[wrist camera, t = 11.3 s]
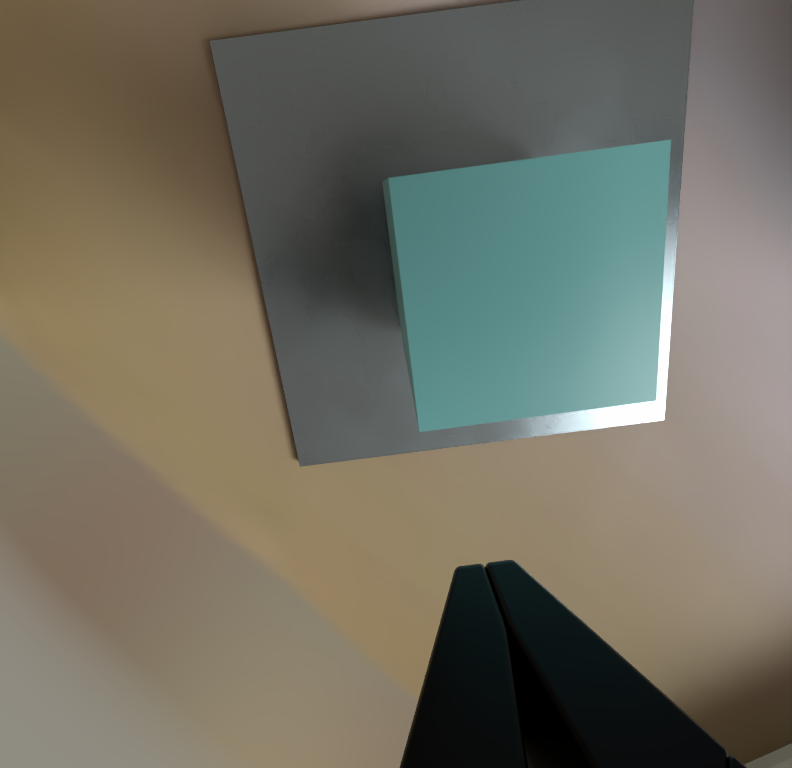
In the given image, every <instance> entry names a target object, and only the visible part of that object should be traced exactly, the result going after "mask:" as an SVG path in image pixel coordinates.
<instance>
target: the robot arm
mask: <svg viewBox="0 0 792 768" xmlns="http://www.w3.org/2000/svg"><path fill="white" fill-rule="evenodd" d="M400 768H747V767H746V766H745V765H744V764H743V763H742V762H740V761H739V760H738V759H737V758H736V757H735V756H729V757H728V753H727V750H726V749H725V748H724V747H723V746H722V745H721V744H720V743H719V742H718V741H716V740H715V739H714V738H713V737H712V736H711V735H710V734H709V733H707V732H706V731H705V730H704V729H703V728H702V727H701V726H700V725H699V724H697V723H696V722H695V721H694V720H693V719H692V718H691V717H690V716H688V715H687V714H686V713H685V712H684V711H683V710H682V709H681V708H679V707H678V706H677V705H676V704H675V703H674V702H673V701H672V700H670V699H669V698H668V697H667V696H666V695H665V694H664V693H663V692H661V691H660V690H659V689H658V688H657V687H656V686H655V685H654V684H652V683H651V682H650V681H649V680H648V679H647V678H646V677H645V676H643V675H642V674H641V673H640V672H639V671H638V670H637V669H636V668H634V667H633V666H632V665H631V664H630V663H629V662H628V661H627V660H625V659H624V658H623V657H622V656H621V655H620V654H619V653H618V652H616V651H615V650H614V649H613V648H612V647H611V646H610V645H609V644H607V643H606V642H605V641H604V640H603V639H602V638H601V637H600V636H598V635H597V634H596V633H595V632H594V631H593V630H592V629H591V628H589V627H588V626H587V625H586V624H585V623H584V622H583V621H582V620H580V619H579V618H578V617H577V616H576V615H575V614H574V613H573V612H572V611H570V610H569V609H568V608H567V607H566V606H565V605H564V604H563V603H561V602H560V601H559V600H558V599H557V598H556V597H555V596H554V595H552V594H551V593H550V592H549V591H548V590H547V589H546V588H545V587H543V586H542V585H541V584H540V583H539V582H538V581H537V580H536V579H534V578H533V577H532V576H531V575H530V574H529V573H528V572H527V571H525V570H524V569H523V568H522V567H521V566H520V565H519V564H518V563H516V562H515V561H513V560H505V561H497V562H490V563H488V564H486V566H485V567H484V566H483V565H482V564H474V565H466V566H459V567H457V568H456V569H455V571H454V574H453V578H452V582H451V585H450V589H449V592H448V596H447V600H446V603H445V607H444V610H443V614H442V618H441V621H440V625H439V628H438V632H437V635H436V639H435V643H434V646H433V650H432V653H431V657H430V661H429V664H428V668H427V671H426V675H425V679H424V682H423V686H422V689H421V693H420V697H419V700H418V704H417V707H416V711H415V715H414V719H413V722H412V725H411V729H410V733H409V736H408V740H407V744H406V747H405V751H404V754H403V758H402V761H401V765H400Z"/></svg>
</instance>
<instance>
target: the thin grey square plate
mask: <svg viewBox="0 0 792 768" xmlns="http://www.w3.org/2000/svg"><path fill="white" fill-rule="evenodd" d="M693 2H694V0H519V1H511V2H503V3H496V4H488V5H480V6H473V7H465V8H457V9H450V10H442V11H434V12H427V13H419V14H411V15H404V16H396V17H388V18H381V19H373V20H365V21H358V22H350V23H342V24H335V25H327V26H319V27H312V28H304V29H296V30H289V31H281V32H273V33H266V34H258V35H250V36H243V37H235V38H227V39H220V40H212V41H210V46H211V51H212V56H213V60H214V65H215V70H216V74H217V79H218V84H219V88H220V93H221V98H222V103H223V107H224V112H225V117H226V121H227V126H228V131H229V135H230V140H231V145H232V150H233V154H234V159H235V164H236V168H237V173H238V178H239V182H240V187H241V192H242V197H243V201H244V206H245V211H246V215H247V220H248V225H249V229H250V234H251V239H252V244H253V248H254V253H255V258H256V262H257V267H258V272H259V276H260V281H261V286H262V291H263V295H264V300H265V305H266V309H267V314H268V319H269V323H270V328H271V333H272V338H273V342H274V347H275V352H276V356H277V361H278V366H279V370H280V375H281V380H282V385H283V389H284V394H285V399H286V403H287V408H288V413H289V417H290V422H291V427H292V432H293V436H294V441H295V446H296V450H297V455H298V460H299V464H300V466H308V465H316V464H324V463H332V462H339V461H347V460H355V459H363V458H371V457H379V456H387V455H394V454H402V453H410V452H418V451H426V450H434V449H441V448H449V447H457V446H465V445H473V444H481V443H489V442H496V441H504V440H512V439H520V438H528V437H536V436H543V435H551V434H559V433H567V432H575V431H583V430H591V429H598V428H606V427H614V426H622V425H630V424H638V423H645V422H653V421H661V420H664V417H665V402H666V388H667V374H668V359H669V345H670V331H671V317H672V302H673V288H674V274H675V259H676V245H677V231H678V216H679V202H680V188H681V174H682V159H683V145H684V131H685V116H686V102H687V88H688V73H689V59H690V45H691V31H692V16H693ZM664 140H671V150H670V167H669V185H668V203H667V220H666V238H665V256H664V273H663V291H662V309H661V326H660V344H659V361H658V379H657V397H656V401H650V402H643V403H635V404H628V405H620V406H613V407H605V408H597V409H590V410H582V411H575V412H567V413H560V414H552V415H545V416H537V417H530V418H522V419H515V420H507V421H500V422H492V423H485V424H477V425H470V426H462V427H455V428H447V429H439V430H432V431H424V432H419V427H418V422H417V417H416V412H415V406H414V401H413V396H412V391H411V385H410V380H409V375H408V370H407V365H406V359H405V354H404V349H403V342H402V335H401V327H400V319H399V311H398V303H397V295H396V287H395V279H394V271H393V264H392V256H391V248H390V240H389V232H388V224H387V216H386V208H385V201H384V193H383V185H382V182H383V181H384V180H386V179H387V178H391V177H399V176H406V175H413V174H421V173H428V172H436V171H443V170H450V169H458V168H465V167H472V166H480V165H487V164H495V163H502V162H509V161H517V160H524V159H531V158H539V157H546V156H554V155H561V154H568V153H576V152H583V151H590V150H598V149H605V148H613V147H620V146H627V145H635V144H642V143H649V142H657V141H664Z"/></svg>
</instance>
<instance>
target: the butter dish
mask: <svg viewBox="0 0 792 768" xmlns="http://www.w3.org/2000/svg"><path fill="white" fill-rule="evenodd" d="M744 765H745V766H746V767H747V768H792V743H791V744H789V745H787V746H784V747H782V748H780V749H778V750H775V751H773V752H771V753H769V754H767V755H764V756H762V757H760V758H758V759H755V760H753V761H751V762H749V763H746V764H744Z"/></svg>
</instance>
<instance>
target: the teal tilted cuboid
mask: <svg viewBox="0 0 792 768" xmlns="http://www.w3.org/2000/svg"><path fill="white" fill-rule="evenodd" d="M670 150H671V140H664V141H657V142H649V143H642V144H635V145H627V146H620V147H613V148H605V149H598V150H590V151H583V152H576V153H568V154H561V155H554V156H546V157H539V158H531V159H524V160H517V161H509V162H502V163H495V164H487V165H480V166H472V167H465V168H458V169H450V170H443V171H436V172H428V173H421V174H413V175H406V176H399V177H391V178H387V179H386V180H384V181H383V182H382V185H383V193H384V201H385V208H386V216H387V224H388V232H389V240H390V248H391V256H392V264H393V271H394V279H395V287H396V295H397V303H398V311H399V319H400V327H401V335H402V342H403V349H404V354H405V359H406V365H407V370H408V375H409V380H410V385H411V391H412V396H413V401H414V406H415V412H416V417H417V422H418V427H419V432H424V431H432V430H439V429H447V428H455V427H462V426H470V425H477V424H485V423H492V422H500V421H507V420H515V419H522V418H530V417H537V416H545V415H552V414H560V413H567V412H575V411H582V410H590V409H597V408H605V407H613V406H620V405H628V404H635V403H643V402H650V401H656V397H657V379H658V361H659V344H660V326H661V309H662V291H663V273H664V256H665V238H666V220H667V203H668V185H669V167H670Z"/></svg>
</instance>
